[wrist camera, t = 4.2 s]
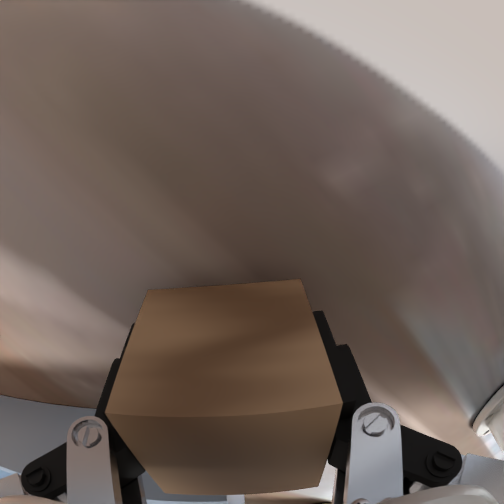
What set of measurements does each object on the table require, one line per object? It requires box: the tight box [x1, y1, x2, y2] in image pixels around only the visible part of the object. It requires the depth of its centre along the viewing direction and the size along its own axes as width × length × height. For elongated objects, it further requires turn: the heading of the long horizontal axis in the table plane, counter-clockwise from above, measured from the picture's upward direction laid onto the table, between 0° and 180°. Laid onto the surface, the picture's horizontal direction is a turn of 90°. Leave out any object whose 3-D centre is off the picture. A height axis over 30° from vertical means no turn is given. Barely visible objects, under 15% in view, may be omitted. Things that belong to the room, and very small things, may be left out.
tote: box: [0, 395, 245, 504], centre depth 16 cm, size 20×16×6 cm
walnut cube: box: [105, 279, 343, 495], centre depth 9 cm, size 5×5×5 cm
